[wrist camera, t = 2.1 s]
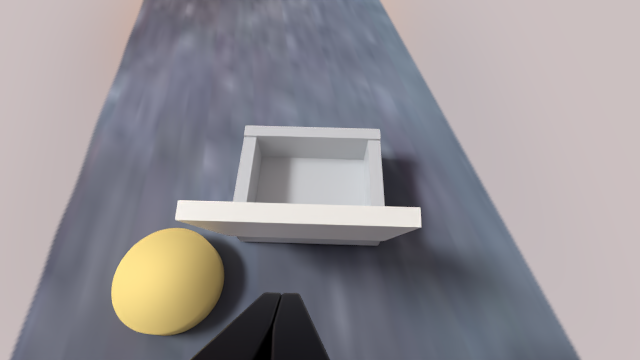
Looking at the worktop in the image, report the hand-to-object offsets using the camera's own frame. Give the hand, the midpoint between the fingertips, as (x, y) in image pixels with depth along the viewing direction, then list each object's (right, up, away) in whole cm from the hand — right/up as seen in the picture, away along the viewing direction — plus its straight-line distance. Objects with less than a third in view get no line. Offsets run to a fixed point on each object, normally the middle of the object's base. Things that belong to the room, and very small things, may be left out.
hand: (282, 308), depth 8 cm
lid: (0, +1, +7) cm, 7 cm away
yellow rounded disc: (-8, -3, +12) cm, 15 cm away
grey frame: (0, +2, +15) cm, 15 cm away
